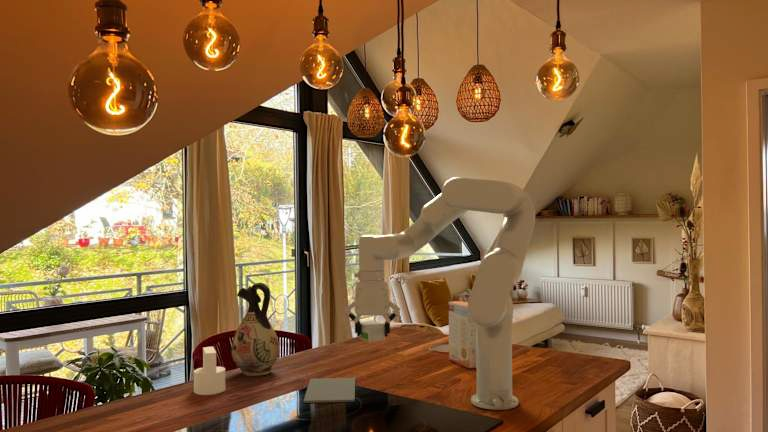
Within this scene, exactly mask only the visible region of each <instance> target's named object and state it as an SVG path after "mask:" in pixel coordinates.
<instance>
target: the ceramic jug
mask: <svg viewBox="0 0 768 432" xmlns="http://www.w3.org/2000/svg"><path fill="white" fill-rule="evenodd" d="M258 290H261V291H262V292H263V294H262V295H263V300H262V298H261V297H260V295H259V294H258ZM236 297H238V298H240V299H243V300H244V301H246V302H247V303H248V308H247V309H248V310H247V311H246V312H245V315H244V317H243V318H242V319H241V322H240V323H239V325H238V327H237V328H236V331H235V333H234V336H233V338H232V339H233V340H232V346H231V357H232V360H233V361H232V362H234V363H235V365H236V366H237V368H239V369H240V371H241V373H242V375H243V376H246V377H260V376H264V375H265V376H266V375H269V374H270V373H271V372H272V371H273V370H272V367H273V366H274V364H275V363H276V362H277V360H278V358H279V355H280V342H279V338H278V335H277V332H276V331H275V329H274V327H273V325H272V324H271V323H270V321H269V318H268V316H267V315H268V314H267V313H268V310H269V306H270V301H271V290H270V288H269V286H268V285H266V284H265V283H263V282H257V283H256V282H255V283H254V284H253V285H252V286H251V285H249V286H248V287H247V288H245V287H242V288H241V289H240V290H239V291H238V293H237V294H236ZM261 300H262V301H261ZM259 303H262V306H260V304H259ZM260 307H261V308H260Z"/></svg>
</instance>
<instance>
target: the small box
mask: <svg viewBox="0 0 768 432" xmlns="http://www.w3.org/2000/svg"><path fill="white" fill-rule="evenodd" d="M359 339H360V340H363V341H366V342H369V343H374V342H379V341H381V342H382V341H385V340H386V336H385V323H384V322H379V321H376V320H374V321H368V322H366V321H365V322H360V336H359Z"/></svg>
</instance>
